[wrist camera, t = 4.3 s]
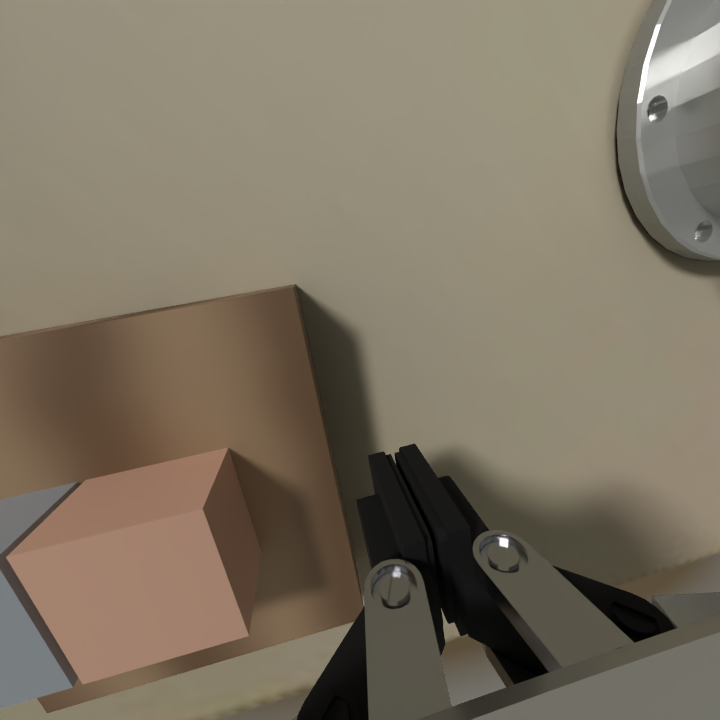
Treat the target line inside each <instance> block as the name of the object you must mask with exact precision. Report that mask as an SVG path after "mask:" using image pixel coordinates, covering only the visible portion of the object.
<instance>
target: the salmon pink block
mask: <svg viewBox="0 0 720 720" xmlns="http://www.w3.org/2000/svg"><path fill="white" fill-rule="evenodd" d="M6 558H7V560H8V562H9V563H10V565H11V567H12V568H13V570H14V571H15V573H16V575H17V576H18V578H19V580H20V581H21V583H22V585H23V586H24V588H25V590H26V591H27V593H28V595H29V596H30V598H31V600H32V601H33V603H34V605H35V606H36V608H37V610H38V611H39V613H40V615H41V616H42V618H43V619H44V621H45V623H46V624H47V626H48V628H49V629H50V631H51V633H52V634H53V636H54V638H55V639H56V641H57V643H58V644H59V646H60V648H61V649H62V651H63V653H64V654H65V656H66V658H67V659H68V661H69V663H70V664H71V666H72V668H73V669H74V671H75V672H76V674H77V676H78V677H79V679H80V681H81V682H82V684H87V683H90V682H94V681H97V680H100V679H104V678H107V677H111V676H114V675H117V674H121V673H124V672H128V671H131V670H134V669H138V668H141V667H145V666H148V665H152V664H155V663H158V662H162V661H165V660H169V659H172V658H175V657H179V656H182V655H186V654H189V653H193V652H196V651H199V650H203V649H206V648H210V647H213V646H216V645H220V644H223V643H227V642H230V641H233V640H237V639H240V638H244V637H247V636H249V633H250V626H251V619H252V613H253V606H254V599H255V592H256V585H257V579H258V572H259V565H260V558H261V549H260V546H259V543H258V539H257V536H256V533H255V530H254V527H253V524H252V521H251V517H250V514H249V511H248V508H247V505H246V502H245V499H244V495H243V492H242V489H241V486H240V483H239V480H238V477H237V473H236V470H235V467H234V464H233V461H232V458H231V455H230V451H229V448H224V449H220V450H215V451H211V452H207V453H202V454H198V455H193V456H189V457H185V458H180V459H176V460H171V461H167V462H163V463H158V464H154V465H150V466H145V467H141V468H136V469H132V470H128V471H123V472H119V473H114V474H110V475H106V476H101V477H97V478H92V479H88V480H85V481H84V482H83V483H82V484H81V485H80V486H79V487H78V488H77V489H76V490H75V491H74V492H73V493H72V494H71V495H70V496H69V497H68V498H67V499H66V500H65V501H63V502H62V503H61V504H60V505H59V506H58V507H57V508H56V509H55V510H54V511H53V512H52V513H51V514H50V515H49V516H48V517H47V518H46V519H45V520H44V521H43V522H42V523H41V524H40V525H39V526H38V527H37V528H36V529H35V530H33V531H32V532H31V533H30V534H29V535H28V536H27V537H26V538H25V539H24V540H23V541H22V542H21V543H20V544H19V545H18V546H17V547H16V548H15V549H14V550H13V551H12V552H11V553H10V554H9V555H8V556H7V557H6Z"/></svg>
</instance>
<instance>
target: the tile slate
mask: <svg viewBox="0 0 720 720" xmlns="http://www.w3.org/2000/svg"><path fill="white" fill-rule="evenodd" d="M78 487H79V484H78V482H75V483H71V484H66V485H62V486H57V487H53V488H49V489H44V490H40V491H35V492H31V493H27V494H22V495H18V496H13V497H9V498H5V499H0V709H1V708H5V707H8V706H12V705H15V704H18V703H22V702H25V701H29V700H32V699H35V698H39V697H42V696H46V695H49V694H53V693H56V692H59V691H63V690H66V689H70V688H73V687H74V685H75V683H76V681H77V679H78V678H79V677H78V676H77V674H76V672H75V671H74V669H73V668H72V666H71V664H70V663H69V661H68V659H67V658H66V656H65V654H64V653H63V651H62V649H61V648H60V646H59V644H58V643H57V641H56V639H55V638H54V636H53V634H52V633H51V631H50V629H49V628H48V626H47V624H46V623H45V621H44V619H43V618H42V616H41V615H40V613H39V611H38V610H37V608H36V606H35V605H34V603H33V601H32V600H31V598H30V596H29V595H28V593H27V591H26V590H25V588H24V586H23V585H22V583H21V581H20V580H19V578H18V576H17V575H16V573H15V571H14V570H13V568H12V567H11V565H10V563H9V562H8V560H7V558H6V557H7V556H8V555H9V554H10V553H11V552H12V551H13V550H14V549H15V548H16V547H17V546H18V545H19V544H20V543H21V542H22V541H23V540H24V539H25V538H26V537H27V536H28V535H29V534H30V533H31V532H32V531H33V530H35V529H36V528H37V527H38V526H39V525H40V524H41V523H42V522H43V521H44V520H45V519H46V518H47V517H48V516H49V515H50V514H51V513H52V512H53V511H54V510H55V509H56V508H57V507H58V506H59V505H60V504H61V503H62V502H63V501H65V500H66V499H67V498H68V497H69V496H70V495H71V494H72V493H73V492H74V491H75V490H76V489H77V488H78Z"/></svg>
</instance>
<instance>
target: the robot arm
mask: <svg viewBox="0 0 720 720" xmlns="http://www.w3.org/2000/svg"><path fill="white" fill-rule="evenodd" d="M617 145H618V162H619V167H620V171H621V175H622V180H623V184H624V188H625V192H626V194H627V197H628V199H629V201H630V204H631V206H632V208H633V210H634V213H635V215H636V217H637V218H638V219H639V221H640V222H641V223H642V225H643V226H644V228H645V229H646V230H647V232H648V233H649V234H650V235H651V236H652V237H653V238H654V239H655V240H657V241H658V242H659V243H660V244H661V245H663V246H664V247H665V248H666V249H668V250H670V251H672V252H675V253H677V254H679V255H681V256H683V257H686V258H691V259H698V260H704V261H717V260H720V0H654V1H653V2H652V4H651V6H650V8H649V10H648V12H647V13H646V15H645V17H644V19H643V21H642V23H641V26H640V28H639V31H638V34H637V36H636V39H635V42H634V44H633V47H632V50H631V52H630V55H629V58H628V61H627V66H626V70H625V74H624V79H623V83H622V87H621V92H620V98H619V109H618V121H617ZM368 457H369V463H370V468H371V474H372V479H373V485H374V490H375V495H372V496H368V497H364V498H360V499H357V500H356V501H357V506H358V511H359V516H360V520H361V525H362V530H363V534H364V539H365V543H366V547H367V552H368V556H369V560H370V564H371V568H372V570H371V571H370V572H369V573H368V576H367V578H366V580H365V585H364V605H365V606H364V607H363V609H362V611H361V612H360V614H359V615H358V617H357V618H356V620H355V622H354V623H353V625H352V626H351V628H350V630H349V631H348V633H347V634H346V636H345V638H344V639H343V641H342V642H341V644H340V646H339V647H338V649H337V650H336V652H335V654H334V655H333V657H332V658H331V660H330V662H329V663H328V665H327V666H326V668H325V670H324V671H323V673H322V674H321V676H320V677H319V679H318V681H317V682H316V684H315V685H314V687H313V689H312V690H311V692H310V693H309V695H308V697H307V698H306V700H305V702H304V704H303V706H302V708H301V710H300V712H299V714H298V716H297V717H295V718H293V719H292V720H720V592H714V593H695V594H676V595H658V596H652V601H647V600H645V599H643V598H641V597H639V596H636V595H634V594H632V593H629V592H626V591H624V590H621V589H618V588H615V587H612V586H609V585H606V584H603V583H601V582H598V581H595V580H592V579H589V578H586V577H583V576H580V575H578V574H575V573H572V572H569V571H566V570H563V569H560V568H558V567H555V566H552V565H551V564H550V563H549V562H548V561H547V560H546V559H544V558H543V557H542V556H541V555H540V554H539V553H538V552H537V551H536V550H535V549H534V548H533V547H532V546H531V545H530V544H528V543H527V542H526V541H525V540H524V539H522V538H521V537H520V536H518V535H516V534H514V533H511V532H508V531H504V530H490V531H489V529H488V528H487V527H486V525H485V524H484V523H483V521H482V520H481V518H480V517H479V516H478V514H477V513H476V512H475V510H474V509H473V507H472V506H471V505H470V503H469V502H468V501H467V499H466V498H465V496H464V495H463V494H462V492H461V491H460V490H459V488H458V487H457V485H456V484H455V483H454V481H453V480H452V479H451V478H450V476H444V477H440V478H437V476H436V475H435V473H434V472H433V470H432V469H431V467H430V466H429V464H428V463H427V461H426V459H425V458H424V456H423V455H422V453H421V452H420V450H419V449H418V447H417V446H416V445H415V444H412V445H408V446H404V447H400V448H399V452H397V453H395V460H396V464H395V462H394V460H393V458H392V456H391V454H389V455H385V453H384V452H379V453H375V454H371V455H369V456H368ZM441 608H442V611H443V613H444V616H445V618H446V620H447V622H448V623H449V624H450V623H453V622H455V624H456V627H457V629H458V631H459V634H460V636H463V635H466V634H468V635H469V637H471V638H473V639H475V640H477V641H479V642H481V643H482V648H483V650H484V652H485V654H486V656H487V658H488V659H489V661H490V662H491V664H492V666H493V667H494V669H495V670H496V672H497V674H498V675H499V677H500V678H501V680H502V681H503V683H504V685H505V686H506V688H504V689H501V690H498V691H495V692H493V693H490V694H487V695H484V696H481V697H479V698H476V699H473V700H470V701H467V702H464V703H461V704H459V705H456V706H453V707H452V705H451V701H450V697H449V692H448V688H447V683H446V679H445V674H444V670H443V666H442V661H441V654H442V651H443V649H444V646H445V638H444V631H443V619H442V612H441Z"/></svg>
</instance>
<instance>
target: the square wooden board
mask: <svg viewBox="0 0 720 720" xmlns="http://www.w3.org/2000/svg"><path fill="white" fill-rule="evenodd" d="M224 448H229V451H230V455H231V458H232V461H233V464H234V467H235V470H236V473H237V477H238V480H239V483H240V486H241V489H242V492H243V495H244V499H245V502H246V505H247V508H248V511H249V514H250V517H251V521H252V524H253V527H254V530H255V533H256V536H257V539H258V543H259V546H260V549H261V558H260V565H259V572H258V579H257V585H256V592H255V599H254V606H253V613H252V619H251V626H250V633H249V636H247V637H244V638H240V639H237V640H233V641H230V642H227V643H223V644H220V645H216V646H213V647H210V648H206V649H203V650H199V651H196V652H193V653H189V654H186V655H182V656H179V657H175V658H172V659H169V660H165V661H162V662H158V663H155V664H152V665H148V666H145V667H141V668H138V669H134V670H131V671H128V672H124V673H121V674H117V675H114V676H111V677H107V678H104V679H100V680H97V681H94V682H90V683H87V684H82V682H81V681H80V679H79V678H78V679H77V681H76V683H75V685H74V687H73V688H70V689H66V690H63V691H59V692H56V693H53V694H49V695H46V696H42V697H39V698H37V699H38V700H39V702H40V703H41V705H42V706H43V708H44V709H45V711H46V712H47V713H50V712H53V711H56V710H60V709H63V708H66V707H70V706H73V705H76V704H80V703H83V702H86V701H90V700H93V699H97V698H100V697H103V696H107V695H110V694H113V693H117V692H120V691H123V690H127V689H130V688H133V687H137V686H140V685H143V684H147V683H150V682H153V681H157V680H160V679H163V678H167V677H170V676H174V675H177V674H180V673H184V672H187V671H190V670H194V669H197V668H200V667H204V666H207V665H210V664H214V663H217V662H220V661H224V660H227V659H230V658H234V657H237V656H240V655H244V654H247V653H251V652H254V651H257V650H261V649H264V648H267V647H271V646H274V645H277V644H281V643H284V642H287V641H291V640H294V639H297V638H301V637H304V636H307V635H311V634H314V633H317V632H321V631H324V630H328V629H331V628H334V627H338V626H341V625H344V624H348V623H351V622H354V621H355V620H356V618H357V617H358V615H359V614H360V612H361V611H362V609H363V601H362V595H361V590H360V584H359V579H358V573H357V568H356V562H355V557H354V553H353V548H352V543H351V539H350V534H349V529H348V525H347V520H346V516H345V511H344V506H343V502H342V497H341V492H340V488H339V483H338V479H337V474H336V469H335V465H334V460H333V456H332V451H331V446H330V442H329V437H328V432H327V428H326V423H325V419H324V414H323V409H322V405H321V400H320V396H319V391H318V386H317V382H316V377H315V372H314V368H313V363H312V359H311V354H310V349H309V345H308V340H307V335H306V331H305V326H304V322H303V317H302V312H301V308H300V303H299V299H298V294H297V289H296V285H295V284H294V285H289V286H283V287H277V288H272V289H266V290H260V291H255V292H249V293H244V294H238V295H232V296H227V297H221V298H215V299H210V300H204V301H198V302H193V303H187V304H181V305H176V306H170V307H164V308H159V309H153V310H148V311H142V312H136V313H131V314H125V315H119V316H114V317H108V318H102V319H97V320H91V321H85V322H80V323H74V324H69V325H63V326H57V327H52V328H46V329H40V330H35V331H29V332H23V333H18V334H12V335H6V336H1V337H0V499H5V498H9V497H13V496H18V495H22V494H27V493H31V492H35V491H40V490H44V489H49V488H53V487H57V486H62V485H66V484H71V483H75V482H78V484H79V486H80V485H81V484H82V483H83V482H84V481H85V480H88V479H92V478H97V477H101V476H106V475H110V474H114V473H119V472H123V471H128V470H132V469H136V468H141V467H145V466H150V465H154V464H158V463H163V462H167V461H171V460H176V459H180V458H185V457H189V456H193V455H198V454H202V453H207V452H211V451H215V450H220V449H224Z"/></svg>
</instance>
